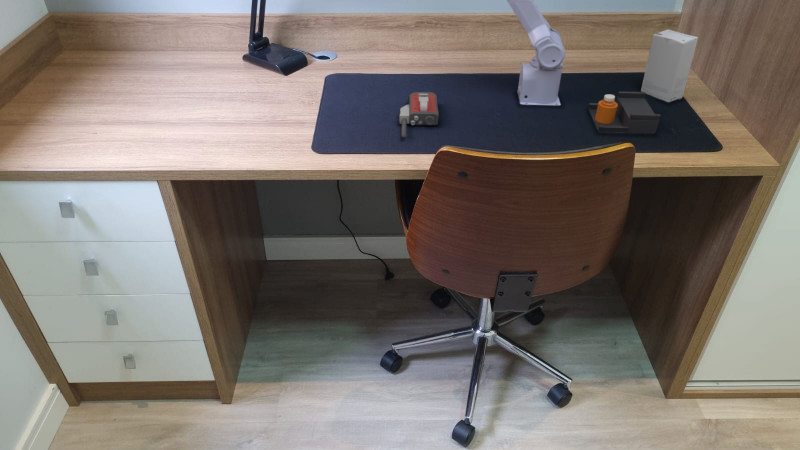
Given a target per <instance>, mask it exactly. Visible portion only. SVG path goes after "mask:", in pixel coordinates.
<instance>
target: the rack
mask: <svg viewBox="0 0 800 450" xmlns="http://www.w3.org/2000/svg"><path fill="white" fill-rule="evenodd" d="M646 95H647V94H646V93H645V92H641V91H618V93H617V97H616V100H615V102H616V103H617V104H618V107H617V111H616V115H615V119H614V122H613V123H610V124H604V123H600V122H597V121H596V120H595V116H596V111H597V107H598V102H589V103H588V106H587V109H588V111H589V114H590V116H591V118H592V120H593V122H594V125H595V127H596V130H597V132H598V133H617V134H618V133H619V134H651V135H654V134H657V133H656V132H657V129H658V126H659V123H660V120H661V114H660V113H655V112H654V110H653V109H652V107H651V105H650V104H649V103H648V101H647V99H646Z"/></svg>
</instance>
